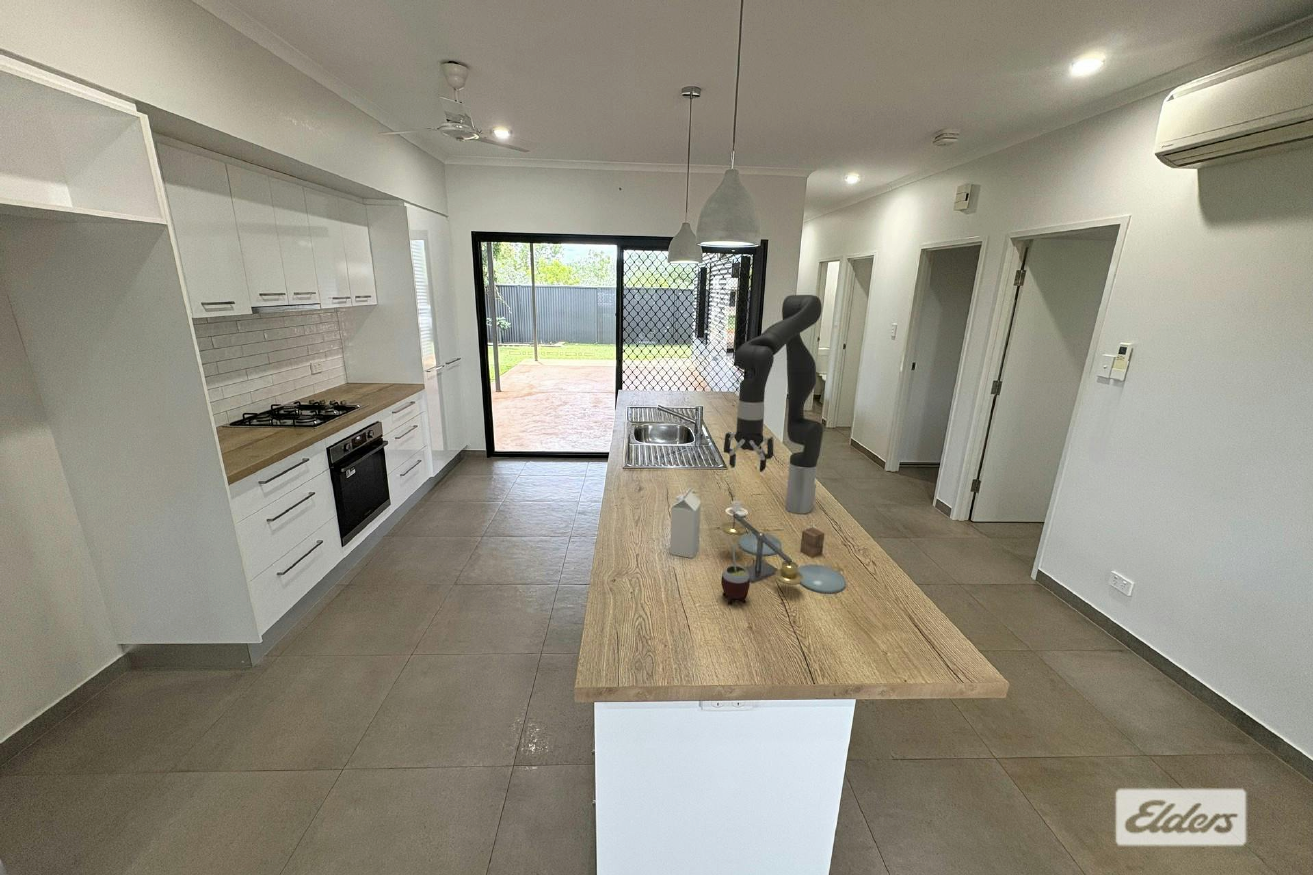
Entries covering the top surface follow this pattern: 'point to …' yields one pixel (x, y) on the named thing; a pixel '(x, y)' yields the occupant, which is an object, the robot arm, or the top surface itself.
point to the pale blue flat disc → (750, 544)
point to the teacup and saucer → (737, 509)
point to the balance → (761, 568)
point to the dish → (822, 579)
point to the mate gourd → (735, 581)
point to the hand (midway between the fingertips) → (747, 468)
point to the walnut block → (812, 542)
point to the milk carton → (685, 525)
